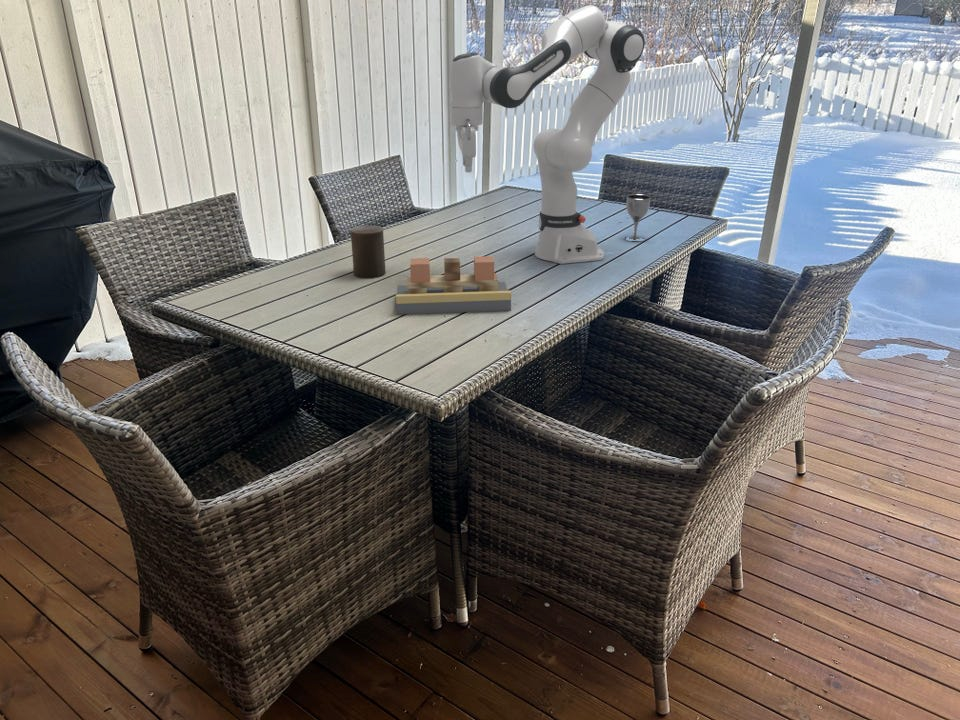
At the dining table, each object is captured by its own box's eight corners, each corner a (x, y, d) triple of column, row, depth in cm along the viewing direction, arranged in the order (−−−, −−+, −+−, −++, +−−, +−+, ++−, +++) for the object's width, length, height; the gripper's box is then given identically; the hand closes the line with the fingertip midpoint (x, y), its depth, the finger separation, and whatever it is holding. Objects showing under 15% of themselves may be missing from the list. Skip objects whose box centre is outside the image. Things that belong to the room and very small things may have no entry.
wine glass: (621, 241, 236) (625, 198, 230) (625, 235, 243) (629, 193, 236) (644, 243, 234) (648, 200, 227) (647, 237, 240) (652, 195, 234)
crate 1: (429, 275, 182) (429, 258, 180) (430, 282, 178) (429, 263, 176) (411, 276, 182) (410, 258, 180) (411, 282, 178) (410, 264, 175)
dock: (504, 292, 191) (504, 275, 189) (510, 310, 179) (511, 292, 176) (398, 295, 189) (397, 278, 187) (396, 314, 176) (395, 296, 174)
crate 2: (492, 273, 184) (492, 256, 181) (494, 280, 179) (494, 261, 177) (474, 274, 183) (473, 256, 181) (475, 280, 179) (475, 262, 177)
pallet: (495, 287, 186) (496, 255, 182) (498, 294, 181) (498, 262, 177) (408, 290, 184) (406, 258, 180) (408, 297, 179) (406, 264, 175)
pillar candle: (371, 280, 200) (368, 230, 194) (347, 274, 205) (343, 225, 199) (392, 271, 208) (389, 223, 201) (368, 266, 212) (364, 219, 206)
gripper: (481, 122, 177) (481, 175, 183) (475, 113, 195) (475, 162, 202) (457, 122, 177) (458, 176, 183) (453, 113, 195) (454, 162, 201)
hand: (467, 168), depth 192 cm, fingers open, 8 cm apart
